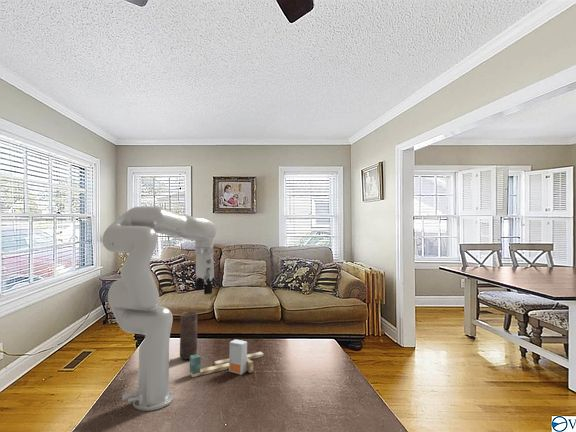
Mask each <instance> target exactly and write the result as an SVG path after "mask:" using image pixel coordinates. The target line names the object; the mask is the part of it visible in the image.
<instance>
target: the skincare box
mask: <svg viewBox="0 0 576 432" xmlns="http://www.w3.org/2000/svg"><path fill="white" fill-rule="evenodd" d="M228 353H229V354H228V355H229V369H228V372H230V373H234V374H237V375H240V376H241V375H243V374H244V373H246V372H248V371H247V354H248V341H246V340H241V339H236V338H235V339H233V340H231V341H229V352H228Z"/></svg>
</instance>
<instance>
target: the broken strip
mask: <svg viewBox="0 0 576 432" xmlns="http://www.w3.org/2000/svg"><path fill="white" fill-rule="evenodd" d="M264 355H265V354H264V353H263V352H262V351H258V352H257V351H256V352H252V353H247V358H249V359H250V360H253V359H258V358H263V357H264ZM225 363H229V358H225V359H219V360H215V361H214V366H216V365H221V364H225Z"/></svg>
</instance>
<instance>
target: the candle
mask: <svg viewBox="0 0 576 432" xmlns="http://www.w3.org/2000/svg"><path fill="white" fill-rule="evenodd" d="M179 327H180V330H179V331H180V333H179V335H180V337H179V358H180V359H184V360H186V359H188V360H190V355H195V354H198V312H197V310H195V311H184V312H182V313H181V314H180V326H179Z"/></svg>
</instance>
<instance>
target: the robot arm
mask: <svg viewBox="0 0 576 432" xmlns="http://www.w3.org/2000/svg"><path fill="white" fill-rule="evenodd" d="M157 234H160V235H165V236H170V237H173V238H174V237H175V238H176V237H178V238H182V239H183V240H187V241H194V255H196V258H195V290H196V291H203V294H204V295H210V294H213V280H214V278H215V266H214V263H215V261H214V256H213V255H214V238H215V237H216V235H217V226H216V225H215V223H214V222H213V221H211V220H208V219H206V218H202V217H197V216H193V215H192V216H191V215H189V214H187V215H186V214H183V213H179V212H178V213H177V212H174V211H171V210H168V209H165V208H163V207H158V206H135V207H132V208H130V209H128V210H127V211H125V212H124V213H123V214H122V215H120V216H119V217H118V218H117V219H116V220H115V221H114V222H113V223H111V224H110V225H109V226H108V227H107V228H106V229H105V231H104V232H103V235H102V241H101V242H102V245H103V247H104V248H105V249H106V250H107V251H108V252H111V253H117V254H118V253H122V254H123V253H124V254H128V255H127V256H126V259H125V261H124V262H123V264H122V266H121V269H120V276H121V279H117V280H115V281H114V282H112V284H111V285H110V287H109V289H108V292H107V299H108V300H107V301H108V304H109V307H110V309H111V312H112V313H113V316H114V318H115V320H116V322H117V324H118V326H119V328H120V329H121V330H122V331H123V332H125V333H128V334H137V335H142V336H144V339H143V341H142V342H141V344H140V346H139V348H138V383H137V384H138V385H137V387H136V388H135V391H133V392H132V393H126V394H123V395H122V402H126V401H127V403H128V404H130V403H132V406H133V408H135V409H136V410H138V411H148V412H149V411H155V410H160V409H163V408H165V407H167V406H169V405H170V404H171V403H172V402H173V400H174V394H173V392H172V391H170V389H169V387H170V386H169V385H170V384H169V383H170V339H171V338H170V337H171V330H172V325H173V320H174V318H173V313H172V311H171V310H170V309H169V308H168V307H165V306H162V305H158V304H159V302H160V293H159V290H158V287H157V284H156V281H155V278H154V277H153V273H152V271H151V259H152V257H153V254H154V251H155V249H156V247H157V243H158V235H157Z"/></svg>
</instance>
